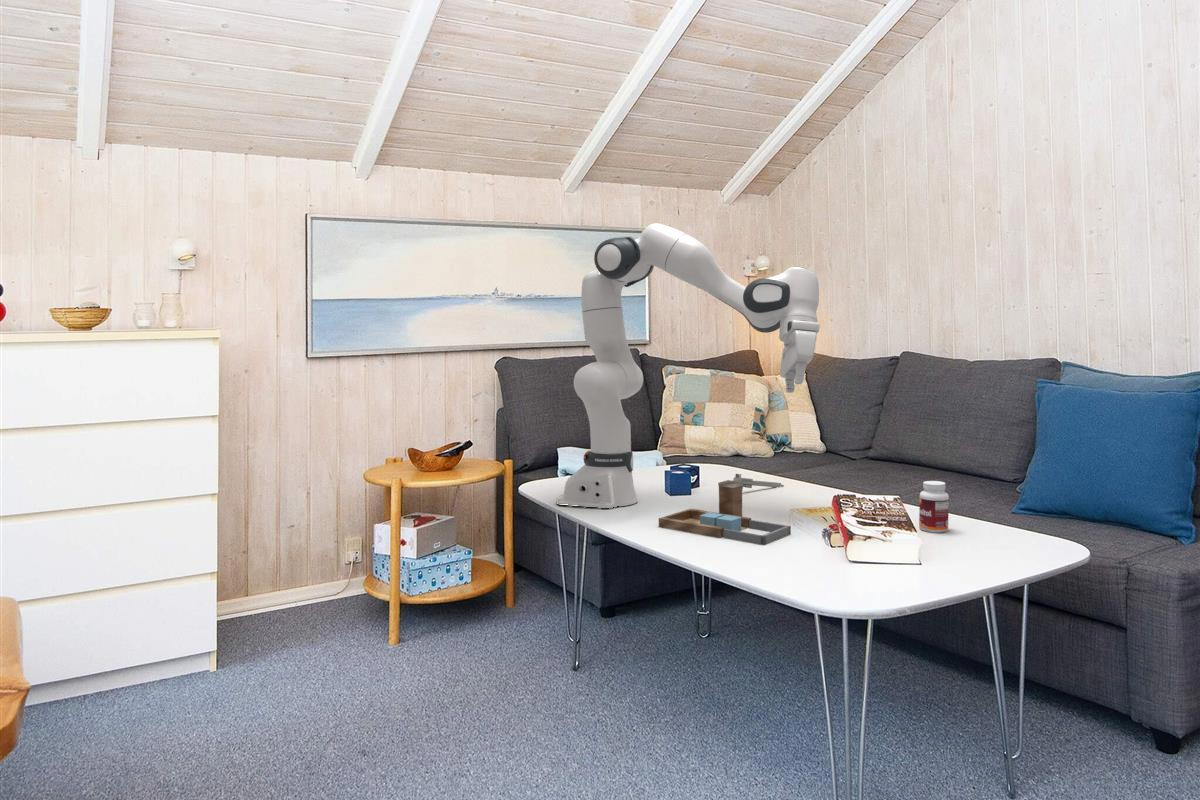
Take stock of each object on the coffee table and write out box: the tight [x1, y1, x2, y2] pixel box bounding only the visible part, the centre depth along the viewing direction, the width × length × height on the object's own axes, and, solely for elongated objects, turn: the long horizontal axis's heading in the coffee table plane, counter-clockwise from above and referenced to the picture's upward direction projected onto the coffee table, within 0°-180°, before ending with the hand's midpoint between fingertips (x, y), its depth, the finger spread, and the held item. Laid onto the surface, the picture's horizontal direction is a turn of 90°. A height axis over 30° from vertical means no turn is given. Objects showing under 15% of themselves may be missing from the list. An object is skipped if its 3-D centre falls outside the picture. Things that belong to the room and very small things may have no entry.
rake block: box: [717, 479, 743, 517], centre depth 192 cm, size 4×4×10 cm
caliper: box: [732, 473, 785, 491], centre depth 231 cm, size 20×1×6 cm, turn 125°
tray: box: [722, 519, 792, 546], centre depth 175 cm, size 10×12×3 cm
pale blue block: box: [700, 511, 724, 526], centre depth 183 cm, size 4×4×3 cm
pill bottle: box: [918, 480, 950, 534], centre depth 181 cm, size 6×6×11 cm
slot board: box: [658, 508, 752, 539], centre depth 184 cm, size 17×13×3 cm
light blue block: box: [716, 515, 742, 532], centre depth 180 cm, size 4×4×3 cm
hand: (794, 388), depth 189 cm, fingers open, 8 cm apart
